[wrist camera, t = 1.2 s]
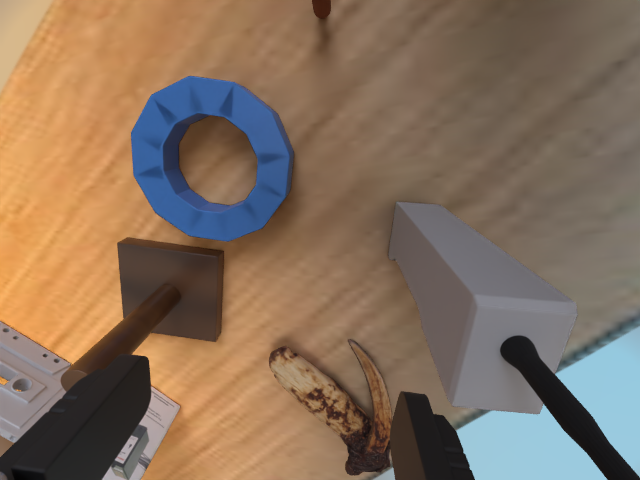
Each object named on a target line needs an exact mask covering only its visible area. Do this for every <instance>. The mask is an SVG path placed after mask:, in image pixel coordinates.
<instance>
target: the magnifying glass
mask: <svg viewBox="0 0 640 480" xmlns="http://www.w3.org/2000/svg"><path fill="white" fill-rule="evenodd" d="M312 4H313V9H314V13H315V15H316V16H317V17H318V18H320V19H324V18H326V17H327V16H328V15H329V14H330V11H331V1H330V0H312Z"/></svg>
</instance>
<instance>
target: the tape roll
mask: <svg viewBox="0 0 640 480" xmlns="http://www.w3.org/2000/svg"><path fill="white" fill-rule="evenodd" d="M209 115H212V116H219V117H225V118H226V119H227V120H229V121H230V122H231V123H232V124H234V125H235V126H236V127H238V128H239V129H240V130H241V131H243V132H244V133H245V134H246V135H247V137H248V139H249V141H250V143H251V145H252V148H253V150H254V152H255V154H256V156H257V159H258V164H257V179H256V185H255V187H254V188H253V190H252V191H251V193H250V194H249V195H248V197H247V198H246V200H243V201H241V202H238V203H236V204H234V205H231V206H229V205H222V204H215V203H209V202H208V201H206V200H205V199H203V198H202V197H201V196H199V195H198V194H196V193H195V192H194V191H192V190H191V189H190V188H189V186H188V184H187V182H186V180H185V178H184V177H183V175H182V173H181V171H180V169H179V145H178V144H179V142H180V140H181V139H182V137H183V135H184V134H185V132H186V130H187V129H188V127H189V125H190V124H192V123H194V122H196V121H199V120H201V119H203V118H205V117H207V116H209ZM131 141H132V158H133V174H134V177H135V179H136V180H137V182H138V184H139V186H140V187H141V189H142V191H143V192H144V194H145V196H146V198H147V199H148V201H149V203H150V204H151V206H152V208H153V210H154V211H155V213H157V214H158V215H159V216H161V217H162V218H164V219H165V220H167V221H168V222H170V223H171V224H173V225H174V226H175V227H177V228H178V229H180V230H181V231H183V232H184V233H186V234H187V235H188V236H193V237H200V238H207V239H214V240H221V241H231V240H234V239H236V238H239V237H241V236H244V235H246V234H249V233H251V232H254V231H257V230H259V229H262V228H263V227H264V226H265V225H266V223H267V222H268V221H269V219H270V218H271V217H272V215H273V214H274V212H275V211H276V210H277V208H278V207H279V206H280V204H281V203H282V202H283V200H284V199H285V198H286V196H287V195H288V194H289V192H290V188H291V179H292V169H293V159H294V151H293V149H292V146H291V144H290V142H289V139H288V137H287V134H286V132H285V130H284V127H283V125H282V123H281V120H280V118H279V115H278V114H277V113H276V112H275V111H274V110H273V109H271V108H270V107H269V106H268V105H266V104H265V103H264V102H263V101H261V100H260V99H259V98H258V97H256V96H255V95H254V94H253V93H251V92H250V91H249V90H248V89H246V88H245V87H244V86H241V85H239V84H237V83H235V82H230V81H223V80H216V79H209V78H202V77H195V76H188V77H186V78H184V79H182V80H180V81H178V82H176V83H174V84H172V85H170V86H168V87H166V88H164V89H162V90H160V91H158V92H156V93H154V94H152V95H151V96H150V98H149V100H148V102H147V103H146V105H145V107H144V109H143V111H142V113H141V115H140V117H139V119H138V121H137V122H136V124H135V126H134V128H133V130H132V132H131Z"/></svg>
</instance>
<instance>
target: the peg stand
mask: <svg viewBox="0 0 640 480" xmlns="http://www.w3.org/2000/svg"><path fill="white" fill-rule="evenodd" d="M117 246H118V258H119V270H120V282H121V294H122V306H123V318H124V319H123V320H122V321H121V322H120V323H119V324H118V325H117V326H115V327H114V328H113V329H112V330H111V331H110V332H109V333H108V334H107V335H105V336H104V337H103V338H102V339H101V340H100V341H99V342H98V343H97V344H95V345H94V346H93V347H92V348H91V349H90V350H89V351H88V352H87V353H85V354H84V355H83V356H82V357H81V358H80V359H79V360H78V361H76V362H75V363H74V364H73V365H72V366H71V367H70V368H69V369H68V370H66V371H65V372H64V373H63V374H62V376H61V380H60V381H61V385H62V387H63V389H64V390H65V391H66V392H67V391H68V390H69V389H70V388H71V387H72V386H73V385H74V384H75V383H76V382H77V381H78V380H80V379H82V378H83V377H85V376H87V375H88V374H90V373H92V372H93V371H95V370H97V369H105V368H106V367H107V366H108V365H109V364H110V363H111V362H112V361H113V360H114V359H115V358H116V357H117V356H118V355H120V354H130V355H131V354H132V353H133V352H134V351H135V350H136V349H137V348H138V347H139V345H140V344H141V343H142V342H143V341H144V340H145V339H146V338H147V337H148V336H149V334H150V333H157V334H164V335H171V336H178V337H185V338H192V339H199V340H206V341H213V342H216V341H217V339H218V337H219V335H220V333H221V318H222V290H223V262H224V251H218V250H211V249H204V248H197V247H190V246H183V245H176V244H169V243H162V242H155V241H148V240H141V239H134V238H126V239H124V240H122V241H120V242H118V243H117Z"/></svg>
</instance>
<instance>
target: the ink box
mask: <svg viewBox="0 0 640 480" xmlns="http://www.w3.org/2000/svg"><path fill="white" fill-rule="evenodd" d="M179 409H180V406H179V405H178V404H176V403H175V402H173V401H172V400H171V399H169V398H168V397H166V396H165V395H163V394H162V393H161V392H159V391H158V390H156V389H155V388H153V387H152V386H151V401H150V404H149V407H148V410H147V412H146V414H145V415H144V417H143V419H142V420H141V422H140V423H139V425H138V426H137V428H136V429H135V431H134V432H133V434H132V435H131V437H130V438H129V440H128V441H127V443H126V444H125V446H124V447H123V449H122V450H121V452H120V453H119V455H118V456H117V458H116V459H115V461H114V462H113V464H112V465H111V467H110V468H109V470H108V471H107V473H106V474H105V476H104V477H103V479H102V480H141V478H142V476H143V475H144V473H145V471H146V469H147V467H148V465H149V464H150V462H151V460H152V458H153V457H154V455H155V453H156V451H157V449H158V447H159V446H160V444H161V442H162V440H163V439H164V437H165V435H166V433H167V431H168V429H169V428H170V426H171V424H172V422H173V420H174V418H175V417H176V415H177V413H178V411H179Z"/></svg>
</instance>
